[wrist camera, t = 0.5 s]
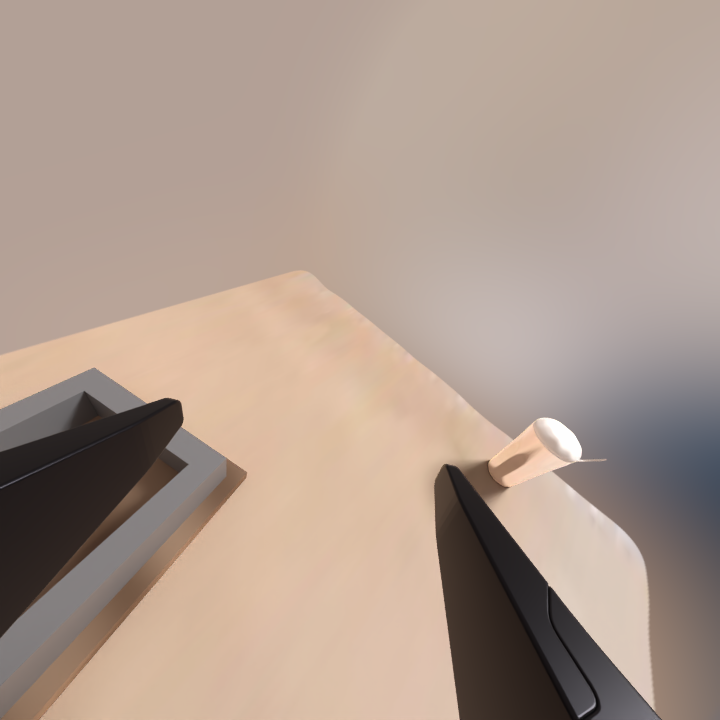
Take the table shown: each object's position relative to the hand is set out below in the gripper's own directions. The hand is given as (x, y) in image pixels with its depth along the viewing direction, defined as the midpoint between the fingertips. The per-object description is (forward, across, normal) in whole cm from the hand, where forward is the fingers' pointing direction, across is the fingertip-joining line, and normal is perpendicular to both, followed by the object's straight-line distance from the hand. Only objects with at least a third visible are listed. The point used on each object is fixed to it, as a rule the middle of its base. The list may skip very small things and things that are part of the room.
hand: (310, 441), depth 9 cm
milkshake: (+16, -20, +15) cm, 30 cm away
